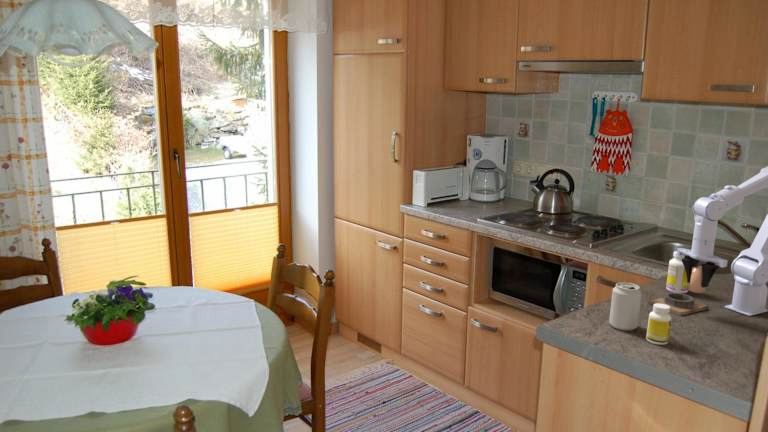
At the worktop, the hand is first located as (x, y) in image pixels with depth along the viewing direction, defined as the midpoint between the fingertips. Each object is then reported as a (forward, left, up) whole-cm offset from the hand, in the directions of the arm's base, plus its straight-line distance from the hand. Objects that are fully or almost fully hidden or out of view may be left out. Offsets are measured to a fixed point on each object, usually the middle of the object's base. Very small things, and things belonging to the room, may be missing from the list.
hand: (697, 284), depth 187 cm
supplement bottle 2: (-14, -16, -9) cm, 23 cm away
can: (+28, -2, -9) cm, 30 cm away
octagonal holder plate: (-1, -6, -9) cm, 11 cm away
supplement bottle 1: (+28, +9, -9) cm, 31 cm away
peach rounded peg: (0, 0, -2) cm, 2 cm away
